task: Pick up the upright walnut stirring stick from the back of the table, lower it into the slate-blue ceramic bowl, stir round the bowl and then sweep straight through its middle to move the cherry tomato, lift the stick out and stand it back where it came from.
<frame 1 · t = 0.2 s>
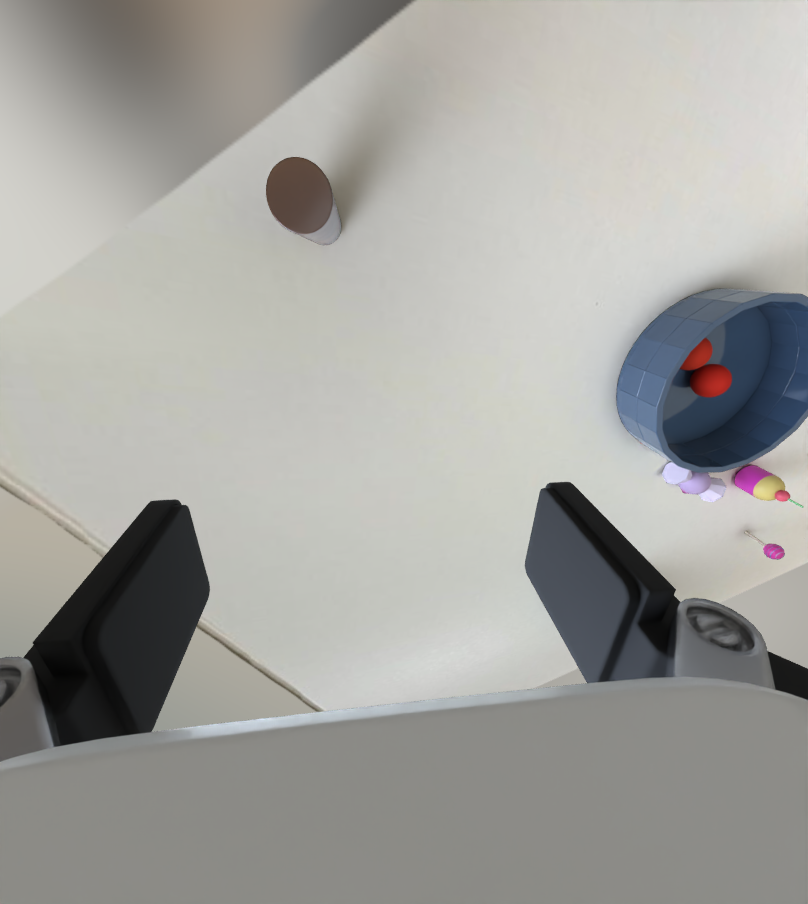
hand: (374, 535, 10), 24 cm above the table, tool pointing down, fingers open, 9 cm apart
stick: (323, 224, 28), on the table
tomato a: (710, 380, 35), point 2 cm above the table, touching bowl
bowl: (693, 374, 37), on the table
candy: (720, 489, 44), on the table
tomato b: (690, 352, 34), point 2 cm above the table, touching bowl
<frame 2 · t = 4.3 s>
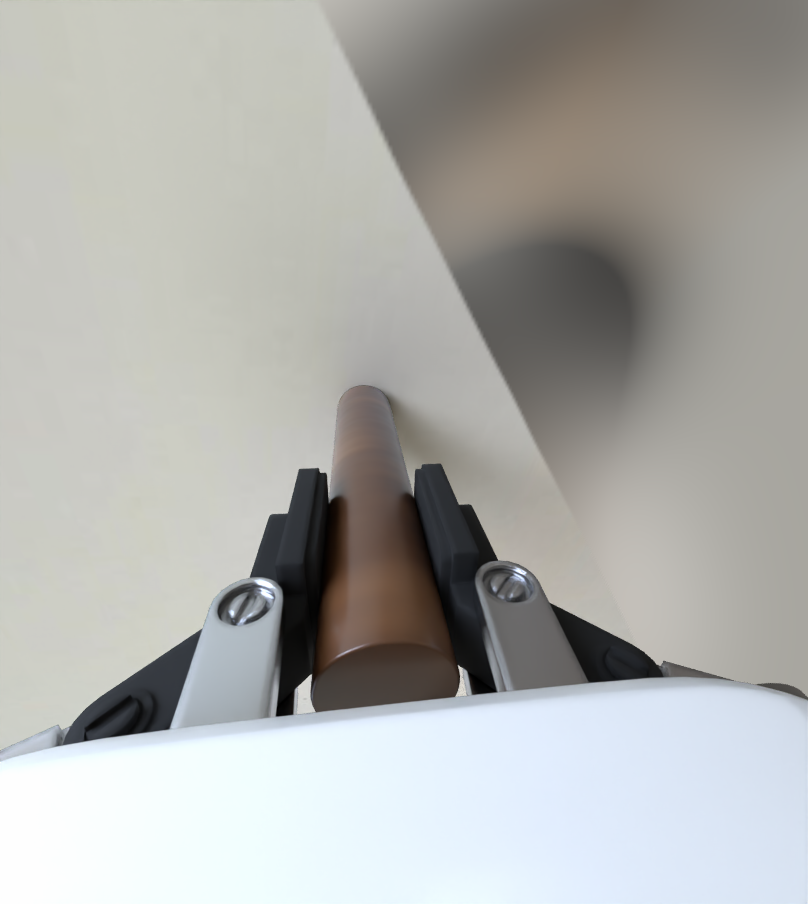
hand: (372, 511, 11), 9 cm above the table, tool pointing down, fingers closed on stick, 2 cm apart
stick: (364, 410, 19), on the table, touching gripper
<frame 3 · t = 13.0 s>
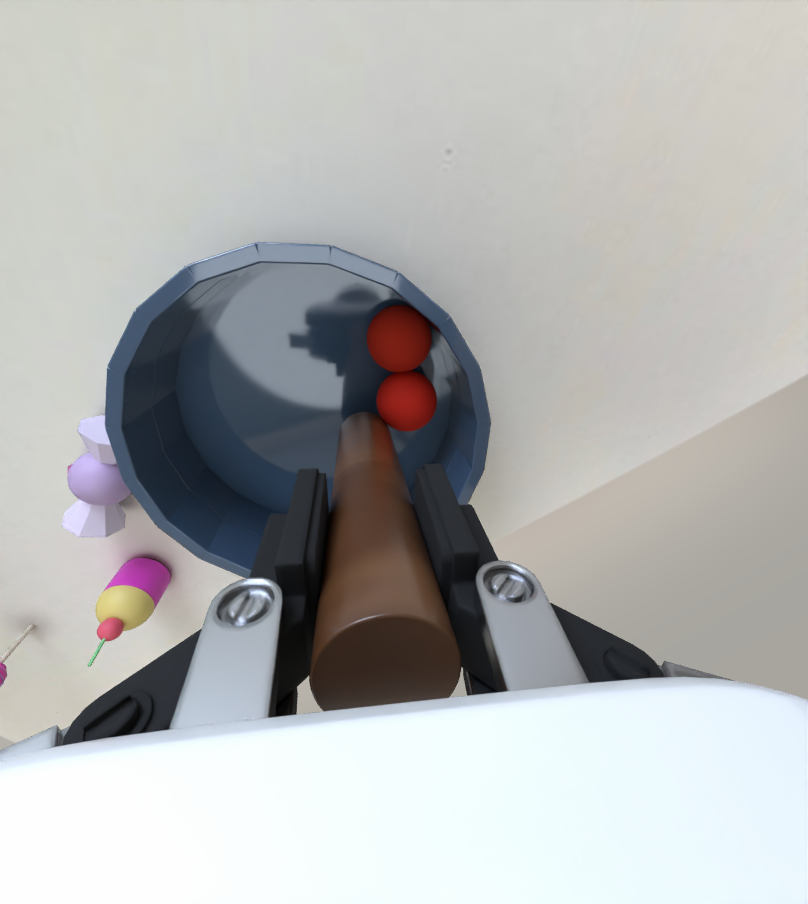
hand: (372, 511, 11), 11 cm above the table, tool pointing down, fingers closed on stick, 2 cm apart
stick: (364, 436, 20), point 2 cm above the table, tilted 7°, touching gripper, tomato a
tomato a: (406, 401, 19), point 2 cm above the table, tilted 145°, touching stick, tomato b
bowl: (320, 406, 21), on the table
candy: (107, 546, 24), on the table
tomato b: (399, 339, 18), point 2 cm above the table, tilted 68°, touching bowl, tomato a
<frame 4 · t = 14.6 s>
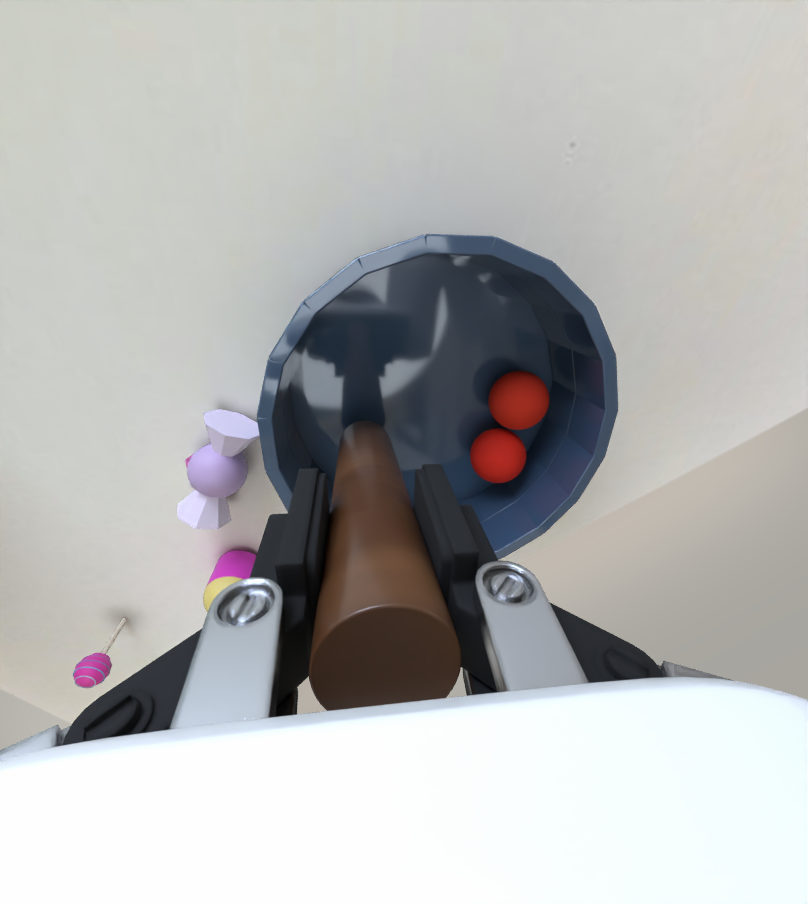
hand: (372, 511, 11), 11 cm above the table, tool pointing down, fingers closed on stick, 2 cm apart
stick: (365, 445, 20), point 2 cm above the table, tilted 10°, touching gripper
tomato a: (497, 455, 21), point 2 cm above the table, tilted 125°, touching bowl
bowl: (424, 398, 21), on the table
candy: (204, 539, 24), on the table
tomato b: (518, 400, 20), point 2 cm above the table, tilted 52°, touching bowl
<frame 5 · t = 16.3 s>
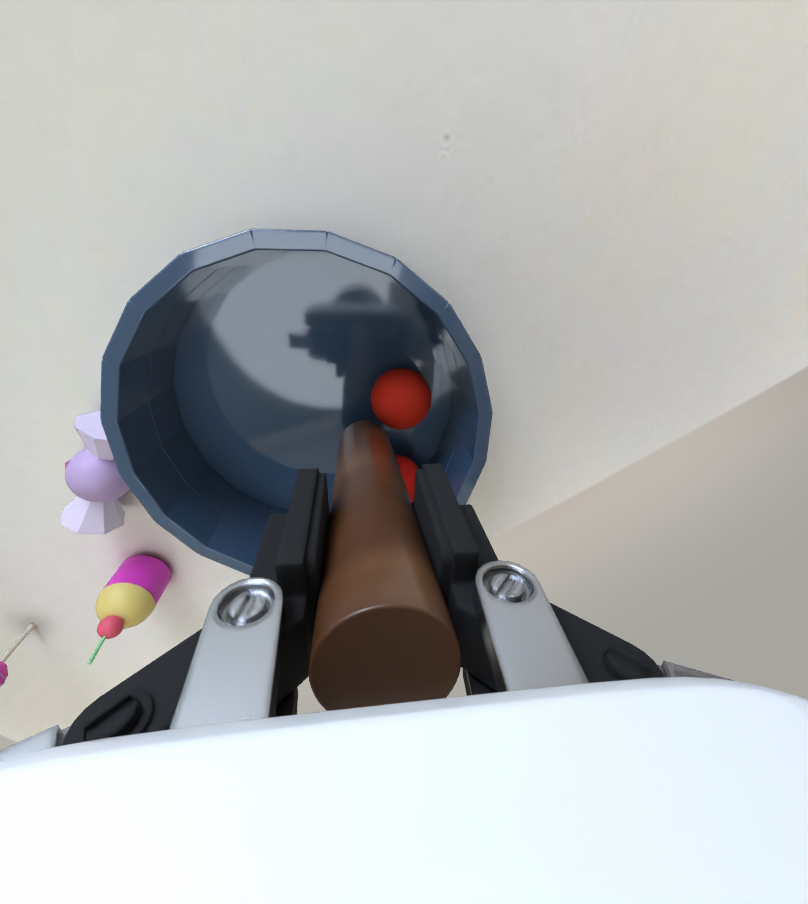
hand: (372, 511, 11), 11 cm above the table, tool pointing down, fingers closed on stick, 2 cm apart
stick: (365, 445, 20), point 2 cm above the table, tilted 10°, touching gripper, tomato a
tomato a: (394, 481, 21), point 2 cm above the table, tilted 72°, touching bowl, stick
bowl: (320, 399, 21), on the table
candy: (107, 544, 23), on the table
tomato b: (401, 398, 19), point 2 cm above the table, tilted 34°, touching bowl
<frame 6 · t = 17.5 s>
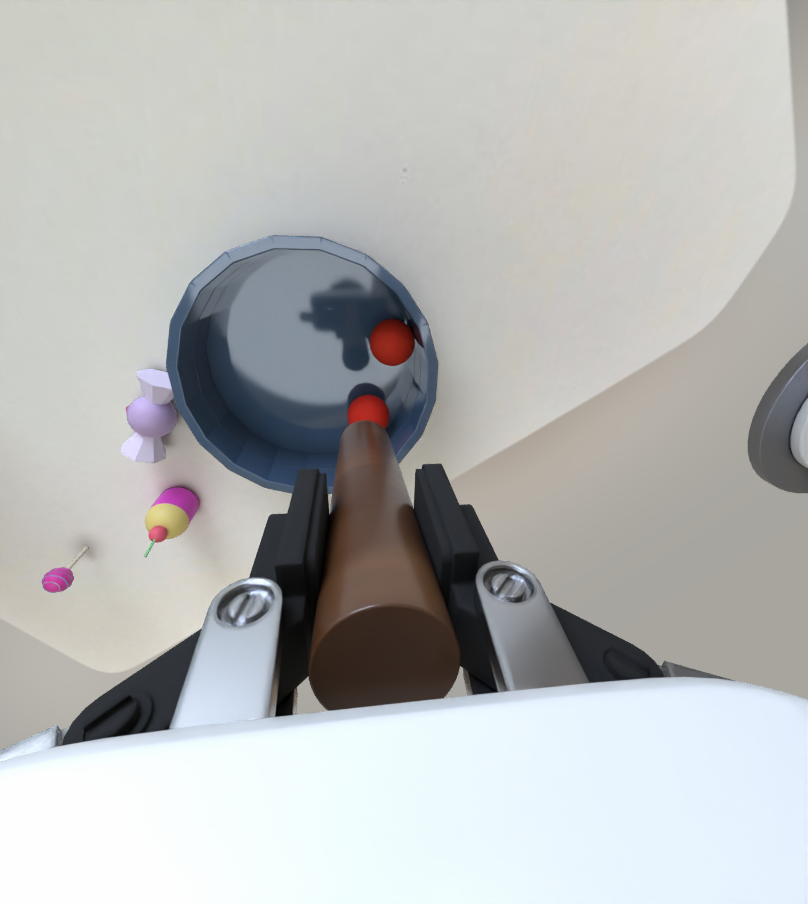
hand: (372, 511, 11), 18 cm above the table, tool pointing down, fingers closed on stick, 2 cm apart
stick: (365, 444, 20), point 10 cm above the table, tilted 10°, touching gripper
tomato a: (368, 415, 28), point 2 cm above the table, tilted 71°, touching bowl
bowl: (316, 362, 27), on the table
candy: (149, 478, 30), on the table
tomato b: (392, 342, 26), point 2 cm above the table, tilted 80°, touching bowl
when the fingers open (9 cm above the table, at t = 24.4 s): stick stays where it is, on the table.
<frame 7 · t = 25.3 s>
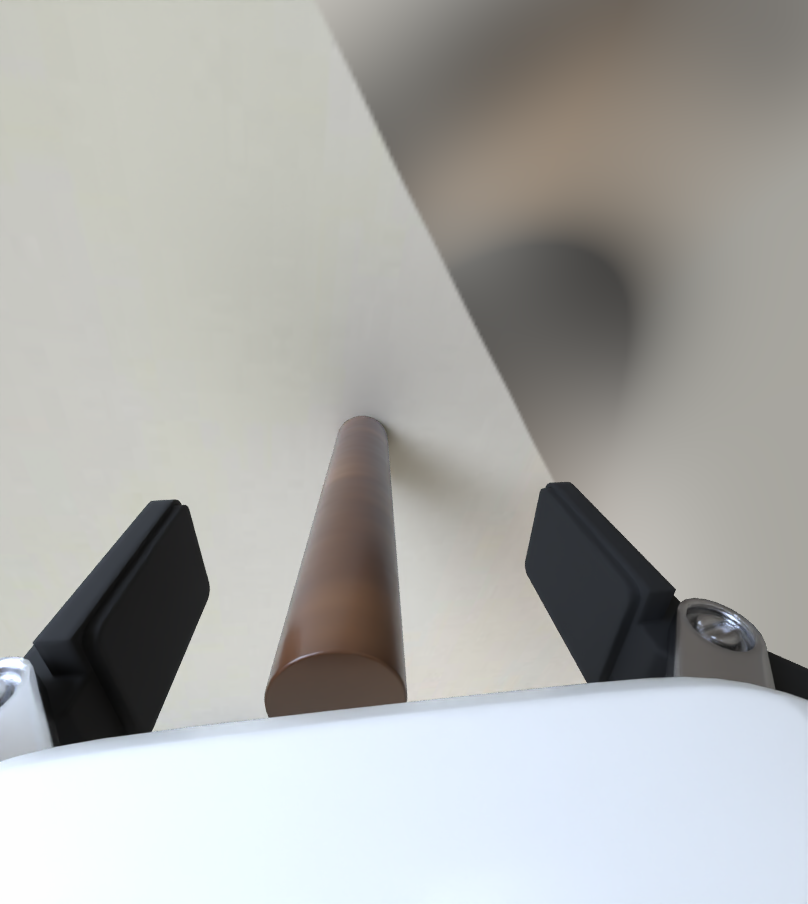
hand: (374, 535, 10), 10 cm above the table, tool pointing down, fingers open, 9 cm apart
stick: (362, 439, 20), on the table, tilted 6°
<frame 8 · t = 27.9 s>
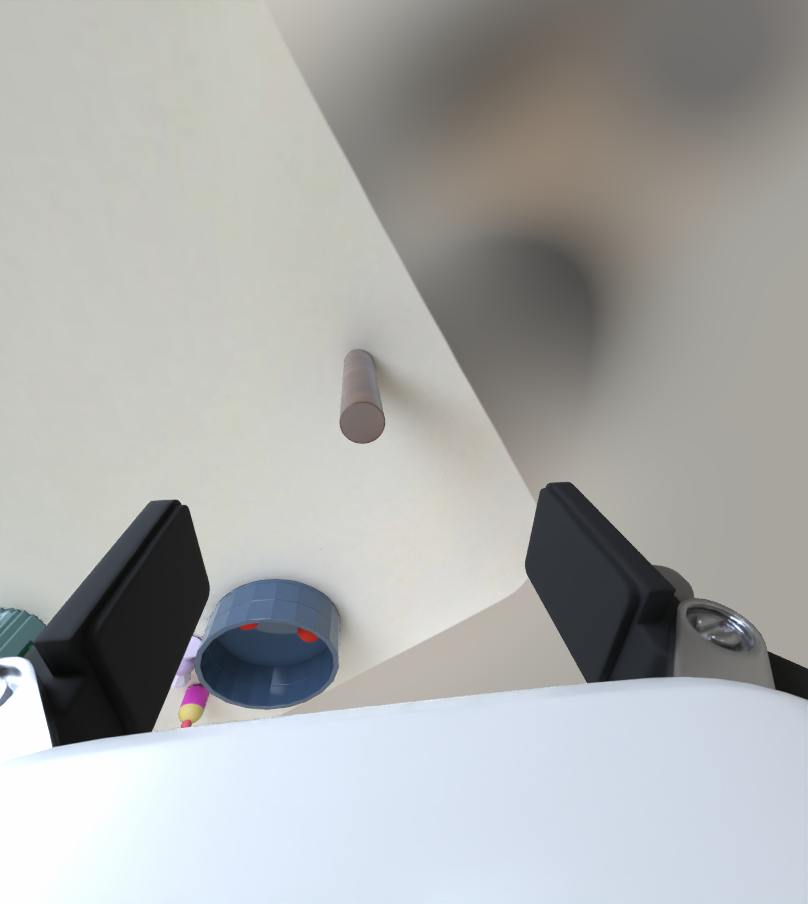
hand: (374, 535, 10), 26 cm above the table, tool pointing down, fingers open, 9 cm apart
stick: (358, 364, 35), on the table
tomato a: (248, 615, 44), point 2 cm above the table, tilted 78°, touching bowl
can: (16, 627, 43), on the table
bowl: (277, 625, 48), on the table
candy: (180, 681, 50), on the table
tomato b: (310, 628, 46), point 2 cm above the table, tilted 44°, touching bowl
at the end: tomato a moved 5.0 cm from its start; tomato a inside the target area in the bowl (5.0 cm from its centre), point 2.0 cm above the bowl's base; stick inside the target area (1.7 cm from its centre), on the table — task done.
